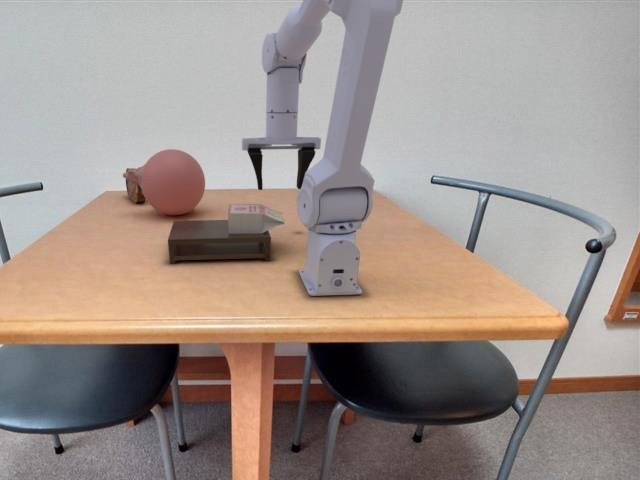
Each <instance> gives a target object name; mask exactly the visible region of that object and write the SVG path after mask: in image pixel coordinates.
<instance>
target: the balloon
mask: <svg viewBox="0 0 640 480" xmlns="http://www.w3.org/2000/svg"><path fill="white" fill-rule="evenodd" d="M135 169H136V170H135V171H134V170H129V171H128V172H126V171H125V172H124V173H122V177H123V178H124V179H125V180H126V179H127V180H128V181H129V182H131V183H132V184H133V185H135V184H136V185H139V186H140V187H141V189H142V192H143V194H144V197H145V198H146V200H145V201H146V202H147V203H148V204H149V205H150V206H151V208H153V209H154V210H156V211H157V212H159V213H161V214H164V215H167V216H181V215H184V214H188V213H189V212H191V211H192V210H194V209H195V208H196V207H197V206H198V205H199V204H200V202H201V201H202V199H203V197H204V195H205V191H206V177H205V174H204V171H203V170H204V169H203V168H202V166H201V165H200V163H199V162H198V161H197V159H196V158H195V157H194V156H192V155H190V154H189V153H187V152H186V151H183V150H180V149H175V148H174V149H173V148H170V149H169V148H168V149H164V150H160V151H158V152H156V153H154V154H153V155H152V156H150V158H149V159H148V160H147V161H146V162H145V163H144V164H143V165H142V166H138V167H137V168H135Z"/></svg>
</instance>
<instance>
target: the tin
mask: <svg viewBox="0 0 640 480" xmlns="http://www.w3.org/2000/svg"><path fill="white" fill-rule="evenodd" d="M136 169H137V168H131V167H130V168H129V167H127V168H126V170H125V173H126V172H128V171H129V170H134V171H135V170H136ZM125 186H126V193H127V196H128V198H129V199H130V200H131V201H132V202H133V203H134V204H138V203H139V204H140V203H144V202H146V201H147V200H146V198H145V197H144V194H143V192H142V189H141V187H140V186H139V185H136V184H135V185H133V184H132V183H131V182H129V181H128V180H127V179H126V178H125Z"/></svg>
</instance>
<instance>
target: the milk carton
mask: <svg viewBox="0 0 640 480" xmlns="http://www.w3.org/2000/svg"><path fill="white" fill-rule="evenodd" d="M227 220H228V234H261V233H264V232H266V231H269V230H272V229H274V228H276V227H279V226H282V225H285V219H284V216H283V212H282V211H277V210H274V209H272V208H270V207H268V206H266V205H264V204H261V203H235V204H234V203H232V204H231V203H230V204H228V211H227Z"/></svg>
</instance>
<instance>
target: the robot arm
mask: <svg viewBox="0 0 640 480" xmlns="http://www.w3.org/2000/svg"><path fill="white" fill-rule="evenodd" d="M403 3H404V0H302V2H301V3H297V4H294V5H293V6H292V7H291V8H290V9H289V10H288V12H287V14H286V16H285V18H284V20H283V21H282V23H281V24H280V26H279V28H278V29H277V32H271V33H267V34H266V35H265V37H264V40H263V43H262V48H261V65H262V69H263V72H264V73H266V96H265V97H266V101H265V103H266V109H265V110H266V111H265V136H264V137H247V138H245V137H244V138H241V150H242V151H247V154H248V157H249V158H250V161H251V164H252V167H253V170H254V173H255V177H256V182H257V190H258V191H262V190H263V156H264V155H263V151H262V150H297V176H296V188H297V189H298V190H299V191H298V192H297V193H298V194H297V197H296V211H297V216H298V219H299V221H300V223H302V225H303V226H304V227H305V228H307V234H306V235H307V236H306V237H307V238H306V253H305V269H299V270H298V274H299V276H300V278H301V281H302V283H303V285H304V287H305V289H306V291H307V293H308V295H309V296H312V297H317V296H350V295H351V296H353V295H362V294H363V290H362V288H361V287H360V285H359V284H358V279H359V278H358V277H359V271H360V270H359V269H360V261H361V253H360V250H359V248H358V246H357V243H356V241H357V240H356V239H357V231H358V230H361V229H362V225H363V223H365V222H367V220H368V218H369V217H370V215H371V213H372V209H373V205H374V198H373V192H374V186H375V181H376V180H375V179H374V177H373V175H372V174H371V172H370V171H369V170H368V169H367V168H366V167H365V166H364V165H363V164H362V159H363V154H364V150H365V146H366V142H367V138H368V133H369V129H370V126H371V121H372V117H373V113H374V109H375V105H376V104H375V103H376V99H377V95H378V91H379V87H380V82H381V78H382V73H383V70H384V65H385V61H386V57H387V52H388V49H389V44H390V39H391V35H392V31H393V26H394V22H395V18H396V17H397V16H399V15H400V14H401V12H402V7H403ZM330 12H331V13H333V14H334V15H336V16H337V17H340V18H341V20H342V23H343V25H344V29H345V31H344V36H343V43H342V49H341V56H340V59H339V66H338V70H337V71H338V72H337V76H336V82H335V88H334V94H333V99H332V105H331V111H330V117H329V122H328V128H327V134H326V139H325V144H324V149H323V156H322V158H321V159H320V160H319V161H317V163H315V164H314V165H313V166H311V164H312V162H313V160H314V158H315V156H316V150H321V146H322V138H321V137H319V136H312V137H311V136H298V120H299V119H298V118H299V117H298V116H299V98H300V97H299V94H300V85H301V84H302V82H303V76H304V75H303V74H304V70H305V69H304V68H305V66H306V62H307V54H308V52H309V50H310V49H311V48H312V46H313V45H314V43H315V42H316V41H317V40H318V38H319V37H320V36H321V34H322V30H323V19H324V18H325V17H327V15H328V14H329V13H330ZM310 166H311V167H310ZM309 167H310V168H309Z"/></svg>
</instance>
